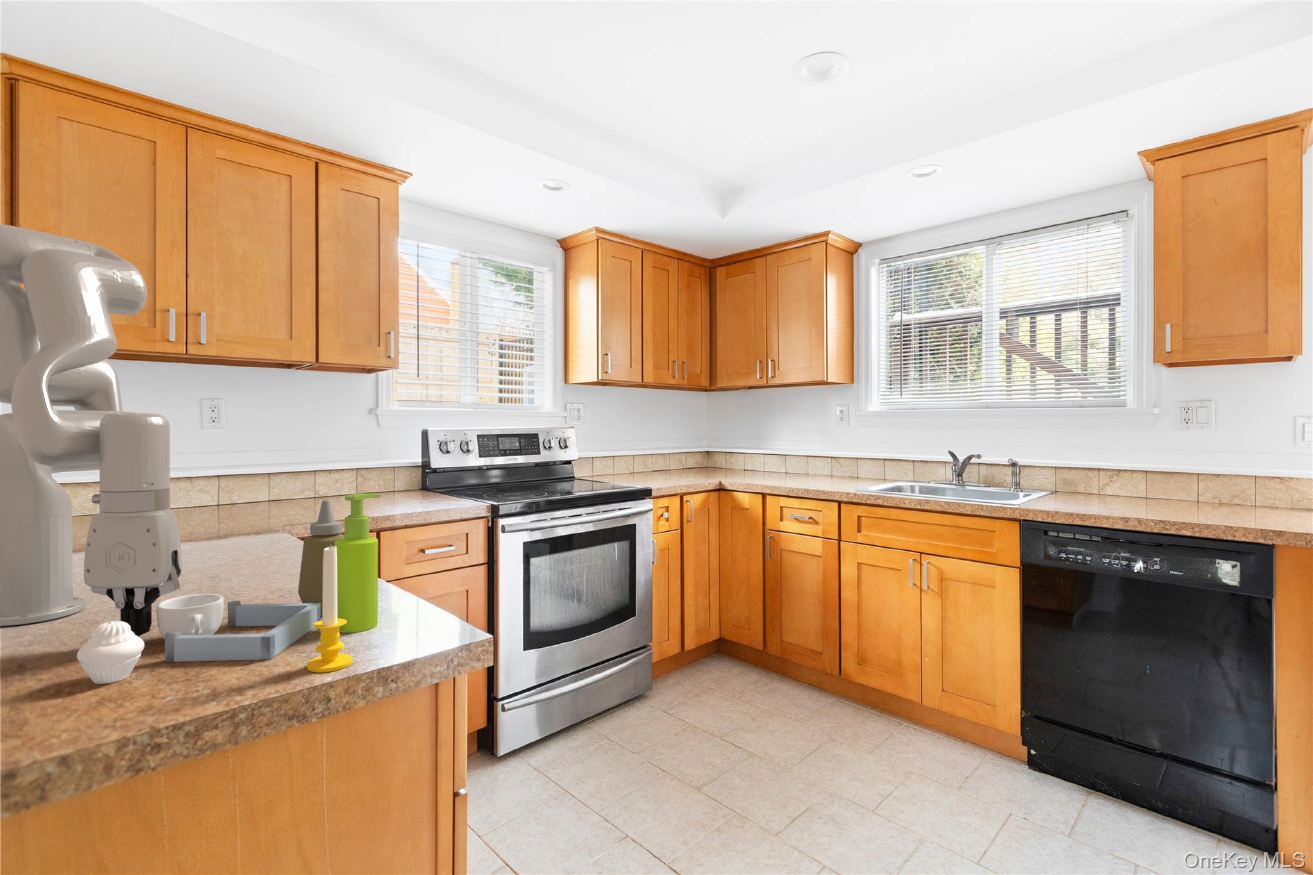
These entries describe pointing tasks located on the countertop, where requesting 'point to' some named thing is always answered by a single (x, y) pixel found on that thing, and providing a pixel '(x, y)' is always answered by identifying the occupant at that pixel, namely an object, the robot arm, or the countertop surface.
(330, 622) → the candle
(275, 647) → the bay
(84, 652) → the muffin
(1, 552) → the robot arm
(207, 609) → the teacup
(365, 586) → the soap dispenser
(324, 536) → the squeeze bottle
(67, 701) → the countertop surface
